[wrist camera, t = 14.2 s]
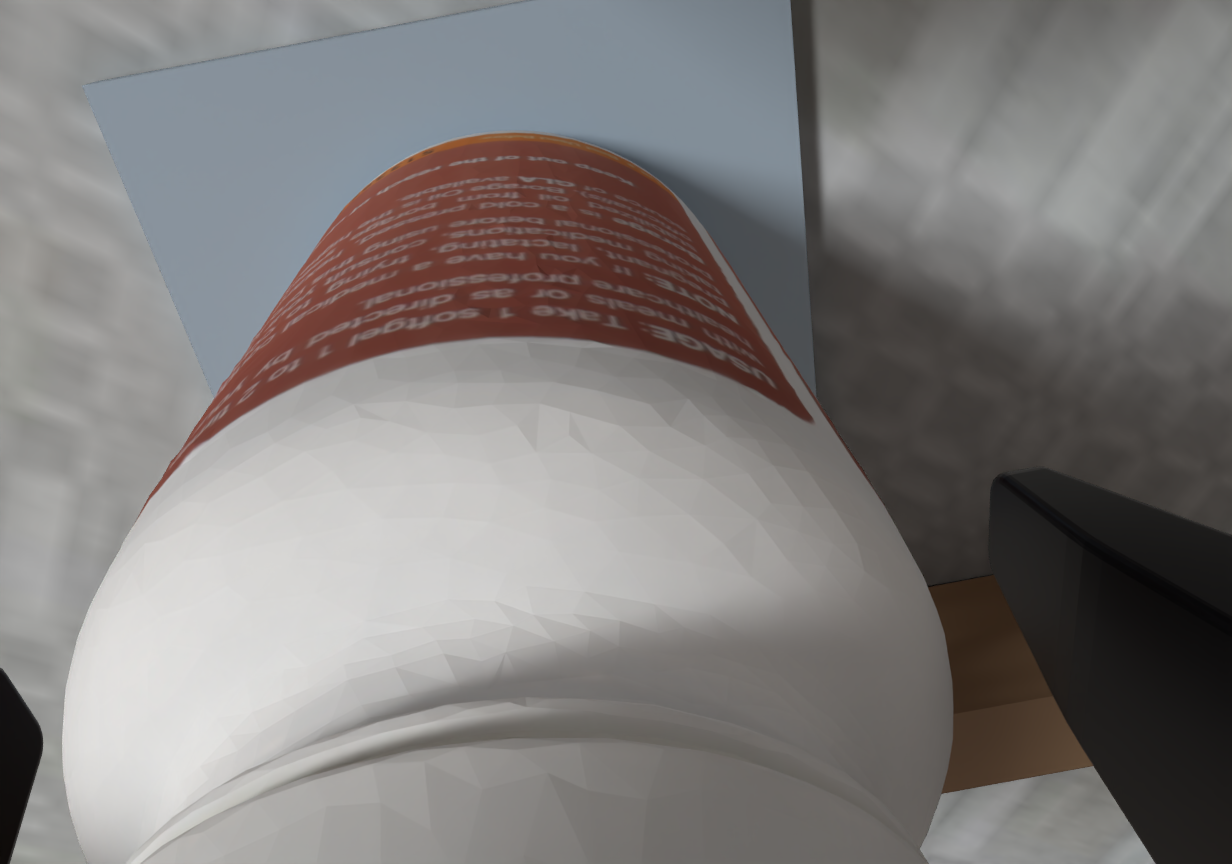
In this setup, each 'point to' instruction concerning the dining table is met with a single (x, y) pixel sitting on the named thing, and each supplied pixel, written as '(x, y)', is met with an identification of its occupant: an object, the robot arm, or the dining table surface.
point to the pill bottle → (511, 563)
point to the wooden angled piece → (998, 694)
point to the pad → (453, 107)
